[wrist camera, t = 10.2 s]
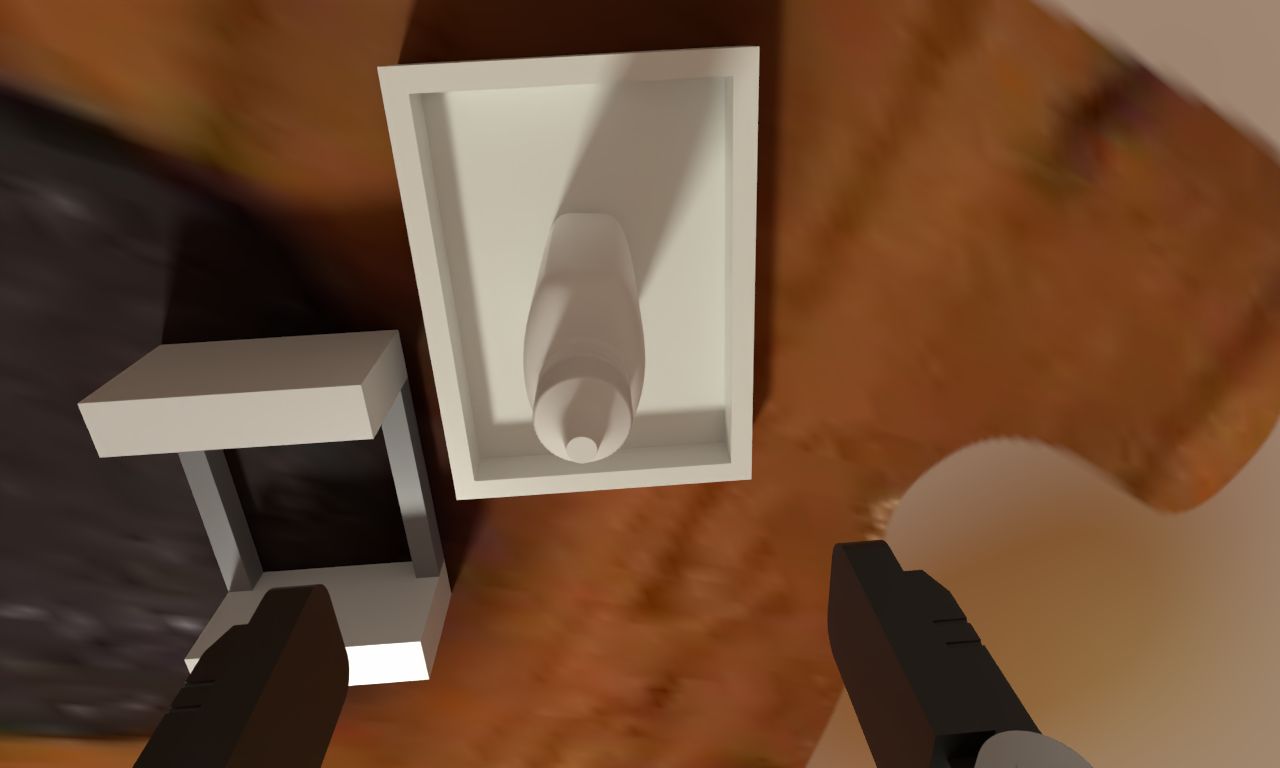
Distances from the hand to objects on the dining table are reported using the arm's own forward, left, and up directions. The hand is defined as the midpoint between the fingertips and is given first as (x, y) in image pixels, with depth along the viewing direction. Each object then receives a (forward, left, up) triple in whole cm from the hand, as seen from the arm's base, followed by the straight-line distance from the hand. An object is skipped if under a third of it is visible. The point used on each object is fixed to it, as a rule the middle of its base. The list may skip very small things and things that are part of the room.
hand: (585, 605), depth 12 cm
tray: (0, 0, -18) cm, 18 cm away
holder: (+8, -12, -18) cm, 23 cm away
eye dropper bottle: (0, 0, -17) cm, 17 cm away
